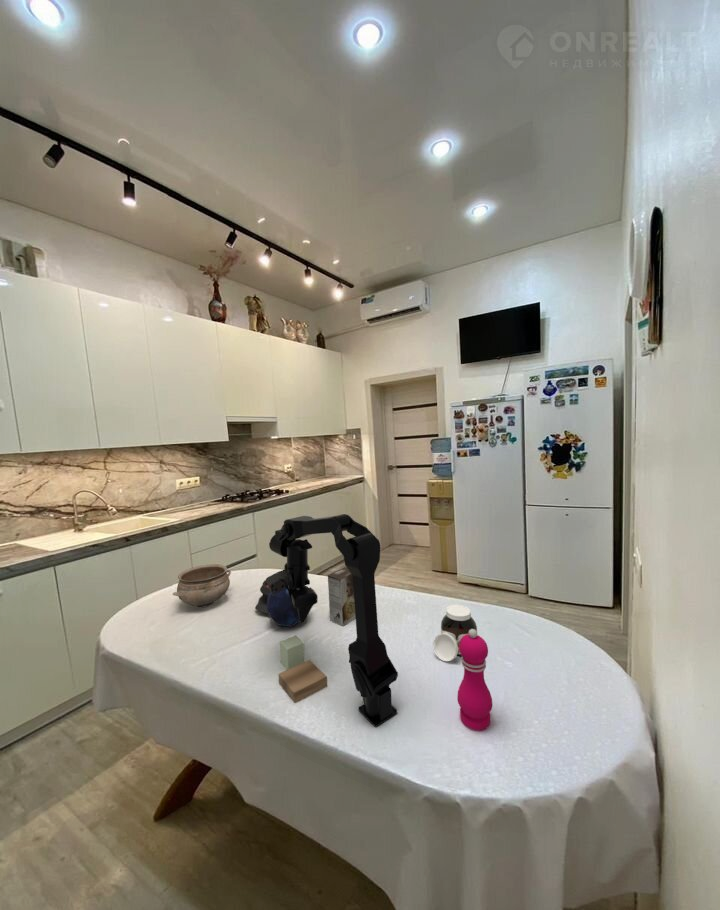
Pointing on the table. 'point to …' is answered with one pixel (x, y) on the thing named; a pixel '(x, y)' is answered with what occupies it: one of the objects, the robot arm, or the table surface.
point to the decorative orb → (282, 609)
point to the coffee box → (341, 597)
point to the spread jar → (453, 632)
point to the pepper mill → (474, 683)
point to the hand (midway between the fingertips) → (297, 614)
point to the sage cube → (292, 652)
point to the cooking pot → (203, 584)
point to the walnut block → (302, 680)
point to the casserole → (264, 598)
